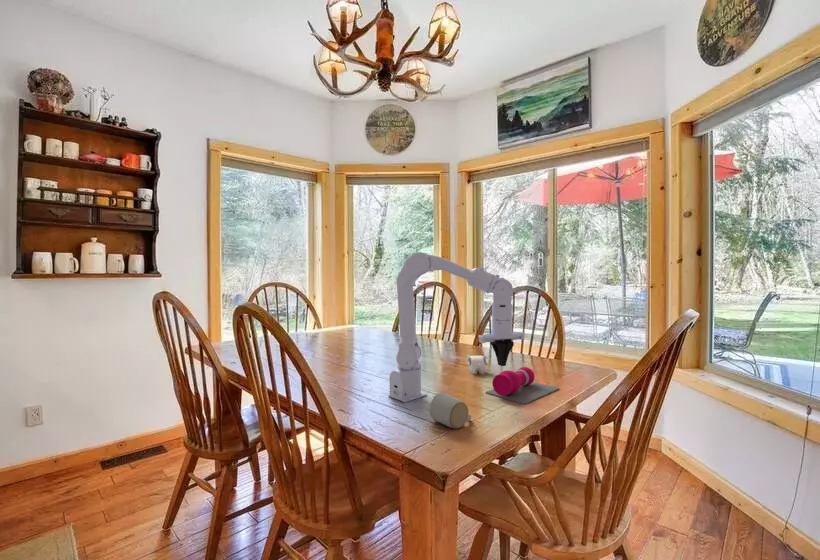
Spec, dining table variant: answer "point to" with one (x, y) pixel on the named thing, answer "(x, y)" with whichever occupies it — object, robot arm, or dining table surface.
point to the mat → (527, 393)
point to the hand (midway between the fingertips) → (501, 365)
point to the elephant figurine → (477, 363)
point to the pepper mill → (512, 380)
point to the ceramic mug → (449, 410)
